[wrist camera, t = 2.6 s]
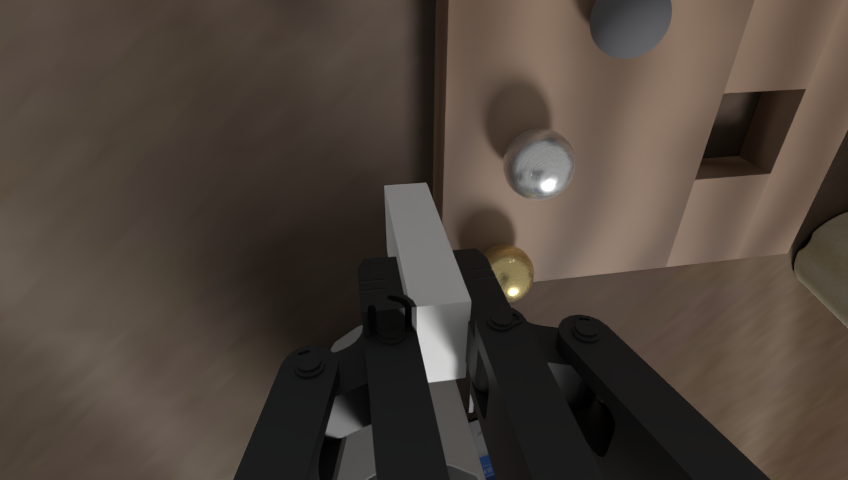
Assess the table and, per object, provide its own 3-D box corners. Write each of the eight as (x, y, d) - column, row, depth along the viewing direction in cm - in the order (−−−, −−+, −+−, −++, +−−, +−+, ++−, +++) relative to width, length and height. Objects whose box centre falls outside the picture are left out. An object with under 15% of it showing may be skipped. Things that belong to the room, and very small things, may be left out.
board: (431, 266, 29) (440, 292, 27) (436, -45, 21) (450, -42, 19) (757, 232, 33) (787, 253, 31) (879, -47, 24) (932, -44, 22)
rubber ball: (571, 51, 21) (605, 68, 19) (583, -28, 20) (622, -21, 17) (635, 48, 22) (676, 65, 19) (652, -29, 20) (699, -22, 18)
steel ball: (491, 183, 24) (512, 216, 21) (496, 120, 22) (520, 147, 20) (553, 179, 25) (581, 210, 22) (562, 116, 23) (595, 142, 20)
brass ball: (467, 281, 27) (482, 318, 25) (470, 235, 26) (486, 269, 23) (519, 276, 28) (538, 311, 25) (525, 230, 26) (547, 263, 24)
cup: (356, 304, 30) (372, 450, 22) (468, 337, 33) (519, 475, 25) (303, 395, 33) (299, 552, 25) (409, 418, 37) (437, 563, 28)
